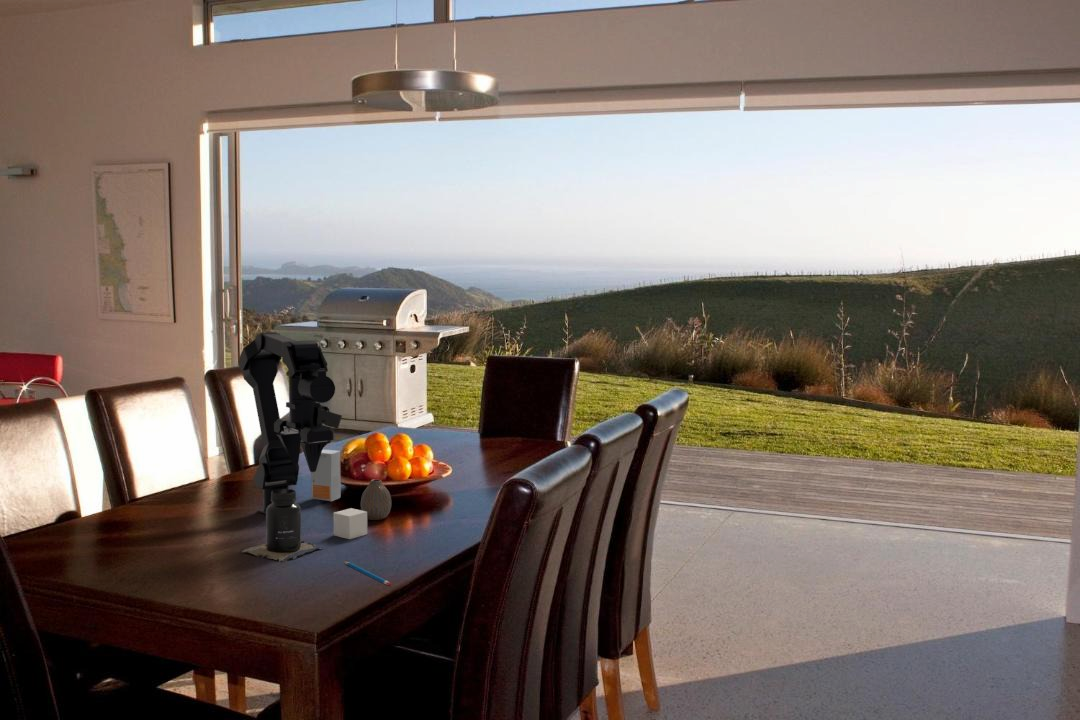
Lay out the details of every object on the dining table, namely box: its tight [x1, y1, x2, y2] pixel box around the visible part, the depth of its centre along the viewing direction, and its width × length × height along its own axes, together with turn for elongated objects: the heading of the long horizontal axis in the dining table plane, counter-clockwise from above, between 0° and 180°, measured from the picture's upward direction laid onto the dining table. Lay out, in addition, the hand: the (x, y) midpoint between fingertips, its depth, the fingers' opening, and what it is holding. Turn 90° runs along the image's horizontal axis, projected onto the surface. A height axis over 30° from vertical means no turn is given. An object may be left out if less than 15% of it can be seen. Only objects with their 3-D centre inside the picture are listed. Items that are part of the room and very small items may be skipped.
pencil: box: [344, 561, 392, 586], centre depth 175 cm, size 1×17×1 cm, turn 39°
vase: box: [360, 478, 392, 521], centre depth 214 cm, size 7×7×9 cm
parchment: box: [239, 540, 323, 563], centre depth 189 cm, size 12×13×1 cm
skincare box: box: [310, 448, 341, 502], centre depth 232 cm, size 6×4×12 cm
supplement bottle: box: [265, 488, 302, 553], centre depth 189 cm, size 7×7×12 cm
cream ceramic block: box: [333, 507, 368, 540], centre depth 201 cm, size 5×5×5 cm
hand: (304, 468), depth 206 cm, fingers open, 9 cm apart
